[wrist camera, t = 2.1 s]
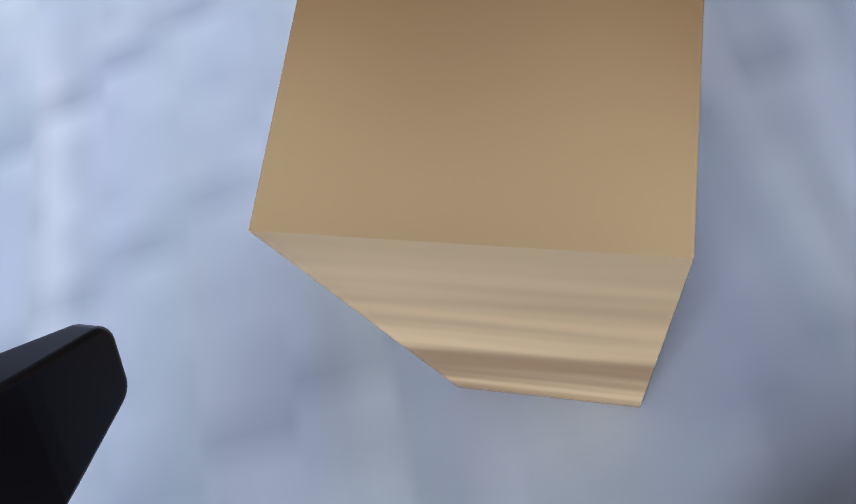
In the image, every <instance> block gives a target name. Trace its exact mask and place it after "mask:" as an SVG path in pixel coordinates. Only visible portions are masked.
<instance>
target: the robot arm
mask: <svg viewBox="0 0 856 504" xmlns="http://www.w3.org/2000/svg"><path fill="white" fill-rule="evenodd" d="M126 393H127V378H126V375H125V371H124V368H123V365H122V362H121V358H120V355H119V352H118V349H117V345H116V342H115V339H114V336H113V334H112V333H111V332H110V331H109V330H108V329H107V328H105V327H102V326H93V325H83V324H77V325H72V326H69V327H66V328H64V329H61V330H59V331H56V332H54V333H51V334H48V335H46V336H43V337H41V338H38V339H36V340H33V341H30V342H28V343H25V344H23V345H20V346H17V347H15V348H12V349H10V350H7V351H5V352H2V353H0V504H68V502H69V500H70V499H71V497H72V495H73V493H74V492H75V490H76V488H77V486H78V485H79V483H80V481H81V479H82V477H83V475H84V473H85V472H86V470H87V468H88V466H89V464H90V462H91V461H92V459H93V457H94V455H95V453H96V451H97V449H98V448H99V446H100V444H101V442H102V440H103V438H104V436H105V435H106V433H107V431H108V429H109V427H110V425H111V424H112V422H113V420H114V418H115V416H116V414H117V412H118V411H119V409H120V407H121V405H122V403H123V401H124V399H125V396H126Z"/></svg>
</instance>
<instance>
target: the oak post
mask: <svg viewBox="0 0 856 504" xmlns="http://www.w3.org/2000/svg"><path fill="white" fill-rule="evenodd" d="M703 12H704V0H297V4H296V9H295V13H294V18H293V23H292V27H291V32H290V37H289V42H288V46H287V51H286V56H285V61H284V65H283V70H282V75H281V80H280V84H279V89H278V94H277V99H276V103H275V108H274V113H273V118H272V122H271V127H270V132H269V136H268V141H267V146H266V151H265V155H264V160H263V165H262V170H261V174H260V179H259V184H258V189H257V193H256V198H255V203H254V208H253V212H252V217H251V222H250V227H249V231H250V232H251V233H253V234H254V235H255V236H257V237H258V238H259V239H261V240H262V241H263V242H265V243H266V244H267V245H269V246H270V247H271V248H273V249H274V250H275V251H277V252H278V253H279V254H281V255H282V256H283V257H285V258H286V259H287V260H289V261H290V262H291V263H293V264H294V265H295V266H297V267H298V268H299V269H301V270H302V271H303V272H305V273H306V274H307V275H309V276H310V277H311V278H313V279H314V280H315V281H317V282H318V283H319V284H321V285H322V286H324V287H325V288H326V289H328V290H329V291H330V292H332V293H333V294H334V295H336V296H337V297H338V298H340V299H341V300H342V301H344V302H345V303H346V304H348V305H349V306H350V307H352V308H353V309H354V310H356V311H357V312H358V313H360V314H361V315H362V316H364V317H365V318H366V319H368V320H369V321H370V322H372V323H373V324H374V325H376V326H377V327H378V328H380V329H381V330H382V331H384V332H385V333H386V334H388V335H389V336H390V337H392V338H393V339H394V340H396V341H397V342H398V343H400V344H401V345H403V346H404V347H405V348H407V349H408V350H409V351H411V352H412V353H413V354H415V355H416V356H417V357H419V358H420V359H421V360H423V361H424V362H425V363H427V364H428V365H429V366H431V367H432V368H433V369H435V370H436V371H437V372H439V373H440V374H441V375H443V376H444V377H445V378H447V379H448V380H449V381H451V382H452V383H453V384H455V385H456V386H457V387H462V388H471V389H480V390H489V391H498V392H507V393H516V394H525V395H534V396H544V397H553V398H562V399H571V400H580V401H589V402H598V403H607V404H616V405H625V406H634V407H640V406H641V403H642V400H643V397H644V395H645V392H646V389H647V386H648V384H649V381H650V378H651V375H652V373H653V370H654V367H655V364H656V362H657V359H658V356H659V353H660V351H661V348H662V345H663V342H664V340H665V337H666V334H667V331H668V329H669V326H670V323H671V320H672V318H673V315H674V312H675V309H676V306H677V304H678V301H679V298H680V295H681V293H682V290H683V287H684V284H685V282H686V279H687V276H688V273H689V271H690V268H691V265H692V262H693V260H694V245H695V219H696V193H697V167H698V141H699V115H700V89H701V63H702V37H703Z"/></svg>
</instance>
